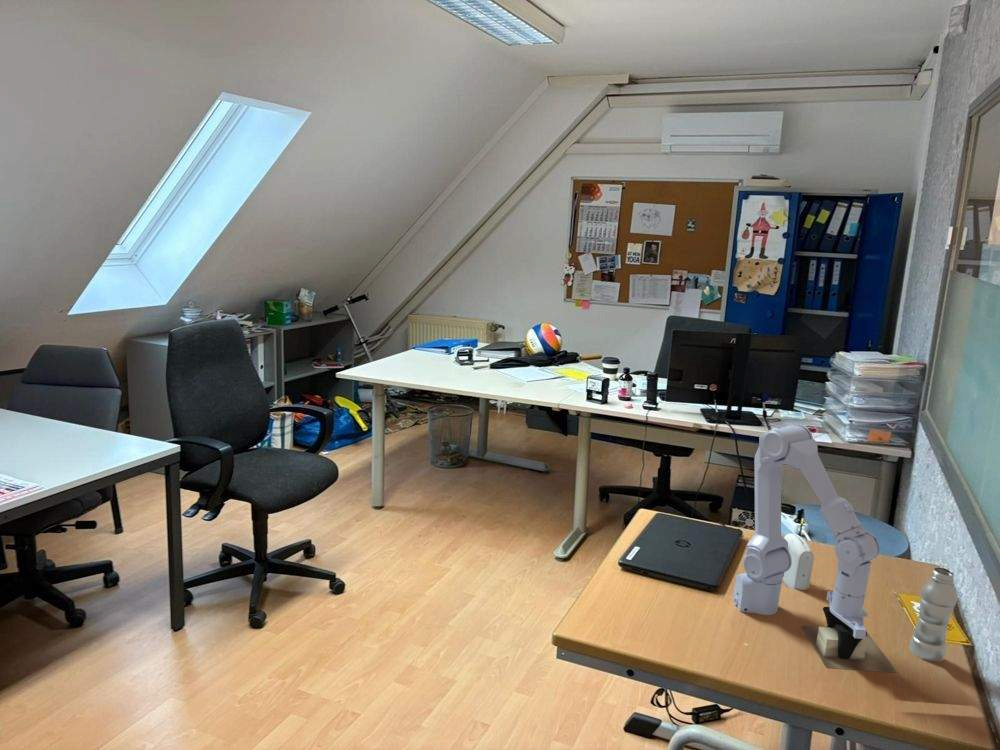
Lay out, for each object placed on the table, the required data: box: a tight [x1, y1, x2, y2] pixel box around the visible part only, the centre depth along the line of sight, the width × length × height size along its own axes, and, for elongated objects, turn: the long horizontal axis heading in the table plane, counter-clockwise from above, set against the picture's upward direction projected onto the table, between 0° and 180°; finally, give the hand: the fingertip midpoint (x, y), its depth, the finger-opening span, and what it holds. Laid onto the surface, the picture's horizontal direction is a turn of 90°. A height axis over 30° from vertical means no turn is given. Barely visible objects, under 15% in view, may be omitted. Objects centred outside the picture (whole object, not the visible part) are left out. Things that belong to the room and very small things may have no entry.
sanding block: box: [816, 626, 867, 660], centre depth 153 cm, size 8×4×4 cm, turn 88°
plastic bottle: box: [908, 566, 958, 663], centre depth 153 cm, size 6×7×20 cm
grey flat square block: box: [800, 625, 899, 674], centre depth 155 cm, size 14×15×2 cm
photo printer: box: [782, 533, 815, 591], centre depth 182 cm, size 10×4×12 cm, turn 3°
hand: (839, 649), depth 154 cm, fingers closed on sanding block, 4 cm apart
